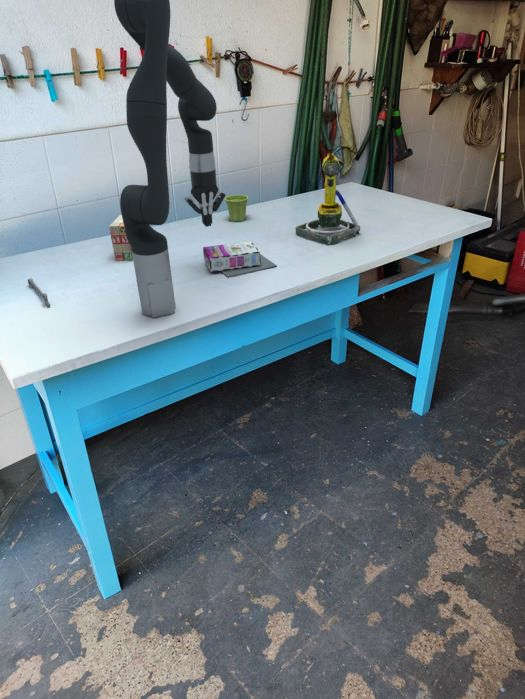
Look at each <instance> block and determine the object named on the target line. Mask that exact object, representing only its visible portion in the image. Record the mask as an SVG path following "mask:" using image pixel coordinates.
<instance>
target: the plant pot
mask: <svg viewBox="0 0 525 699" xmlns="http://www.w3.org/2000/svg"><path fill="white" fill-rule="evenodd" d="M248 199H249V196H248V195H244V194H233V195H227V196H225V198H224V201H225V203H226V206H227V211H228V215H229V219H230V221H231V222H243V221H245V220H246V215H247V213H246V212H247V204H248Z"/></svg>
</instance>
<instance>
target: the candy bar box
mask: <svg viewBox="0 0 525 699" xmlns="http://www.w3.org/2000/svg"><path fill="white" fill-rule="evenodd" d="M202 250H203V259H204V262H205V264H206V266H207V268H208V270H209V271H210V273H214V272H215V273H216V272H220V271H224V270H231V269H239V268H246V267H254V266H260V265H261V261H260V260H261V258H260V254H261V251H260V250H259V249H258V248H257V247H256V245H255V244H254V243H253V241H251V240H250V241H243V242H242V241H241V242H235V243H234V242H233V243H228V244H227V243H225V244H218V245H217V244H216V245H212V246H211V245H210V246H203V247H202Z"/></svg>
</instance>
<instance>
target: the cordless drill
mask: <svg viewBox="0 0 525 699" xmlns="http://www.w3.org/2000/svg"><path fill="white" fill-rule="evenodd" d="M321 166H322V171H323V174H324V175H325V181H324V202H322V203H320V204H319V205H318V207H317V218H318V219H314V220H310V221H308V222H304V223H303V224H300V225H297V226H296V227H295V235H297V236H298V237H300V238H302V237H303V238H302V239H305V240H314V241H316V242H317V243H320V244H321V245H326V246H329V244H330V245H331V246H332V245H335V244H339V243H340V242H341V241H343V240H344V239H351V238H353V237H354V238H355V237H356V235H357V234H360V231H361V225H359V224H358V222H357V219H356V217H355V216H354V214H353V212H352V211H351V210H350V207H349V206H348V204H347V202H346V200H345V198H344V197H343V195H342V194H341V192H340V191H339V190H338V189H337V187H336V186H337V181H336V180H337V178H336V177H337V176H338V175H339V172H340V170H341V165H340V161H339V159H338V158H337V157H336V156H335V154H334V153H327V156H325V157H324V158H323V160H322V165H321ZM336 196H337V197H338V200H339V202H340V203H341V205H340V204H339V203H338V202H336ZM342 206H343V208H344V210H345V211H346V213H347V215H348V216H349V218H350V220H351V221H352V222H349V221H345V220H342V216H343V212H342V211H343V208H342ZM340 225H341V226H343V227H344V228H342V229H337V230H319V229H315V228H318V227H320V228H322V229H323V228H327V229H328V228H329V229H330V228H333V229H334V228H335V229H336V228H339V227H340ZM312 228H313V229H312Z"/></svg>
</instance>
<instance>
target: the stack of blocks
mask: <svg viewBox="0 0 525 699" xmlns="http://www.w3.org/2000/svg"><path fill="white" fill-rule="evenodd" d="M109 233H110V234H109V235H110V240H111V244H112V248H113V255H114V260H115V261H116V262H125V261H126V262H127V261H128V262H130V261H131V262H132V261H133V256H132V250H131V246H130V244H129V242H128V240H127V236H126V232H125V227H124V223H123V219H122V214H119V215H118V216H117V218H116V219H114V221H112V222H111V223H110V225H109Z"/></svg>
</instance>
